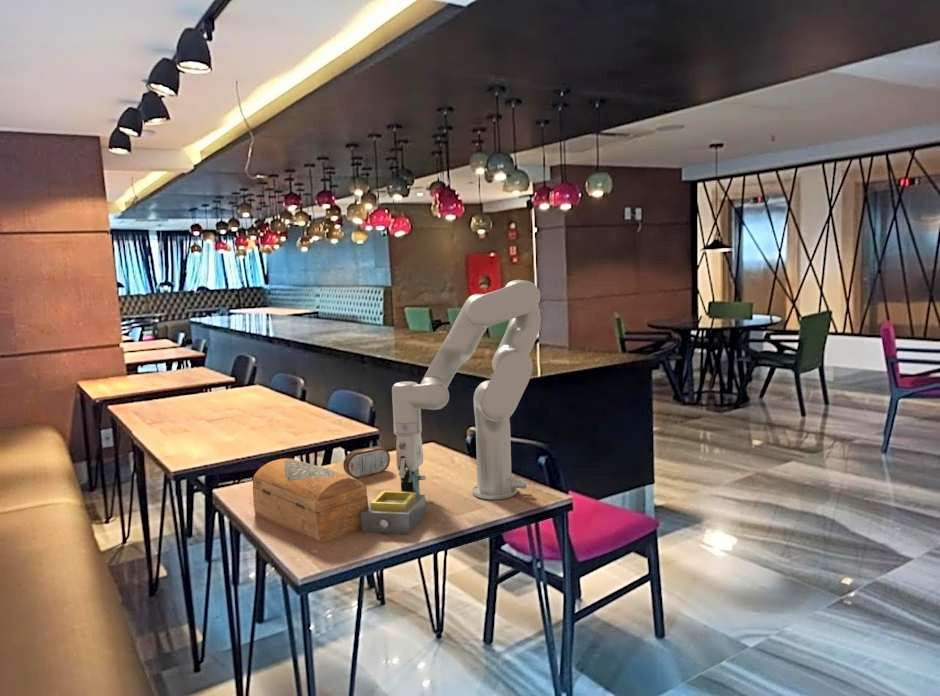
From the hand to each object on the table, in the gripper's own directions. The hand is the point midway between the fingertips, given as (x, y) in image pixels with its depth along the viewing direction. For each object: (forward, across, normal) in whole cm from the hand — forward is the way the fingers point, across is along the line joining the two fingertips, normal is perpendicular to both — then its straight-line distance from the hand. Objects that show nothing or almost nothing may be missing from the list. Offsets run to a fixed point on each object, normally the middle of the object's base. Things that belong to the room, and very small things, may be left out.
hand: (410, 491), depth 189 cm
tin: (+3, +20, +20) cm, 28 cm away
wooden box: (+3, -18, +21) cm, 28 cm away
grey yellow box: (+2, -17, -1) cm, 17 cm away
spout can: (+2, 0, 0) cm, 2 cm away
